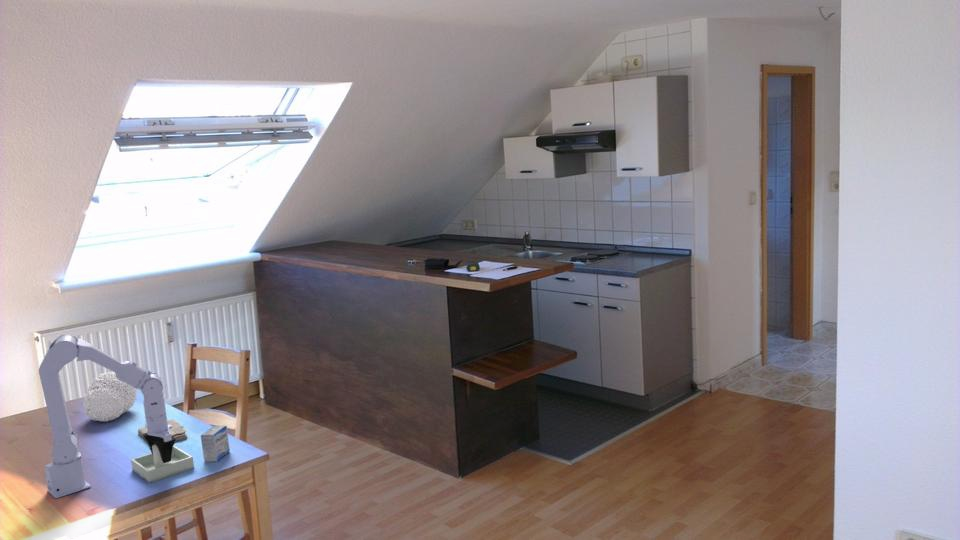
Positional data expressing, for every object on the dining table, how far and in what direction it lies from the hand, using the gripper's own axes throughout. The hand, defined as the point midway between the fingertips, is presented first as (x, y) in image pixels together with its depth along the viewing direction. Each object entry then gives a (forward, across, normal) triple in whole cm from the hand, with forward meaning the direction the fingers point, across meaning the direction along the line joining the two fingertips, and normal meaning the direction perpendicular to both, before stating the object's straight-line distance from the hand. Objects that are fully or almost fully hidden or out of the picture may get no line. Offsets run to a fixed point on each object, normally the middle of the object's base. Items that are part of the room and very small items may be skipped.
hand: (161, 458), depth 236 cm
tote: (+3, 0, 0) cm, 3 cm away
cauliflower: (+4, +62, -7) cm, 63 cm away
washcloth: (+4, +28, -11) cm, 30 cm away
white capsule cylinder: (+3, 0, 0) cm, 3 cm away
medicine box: (+4, -4, -15) cm, 16 cm away
